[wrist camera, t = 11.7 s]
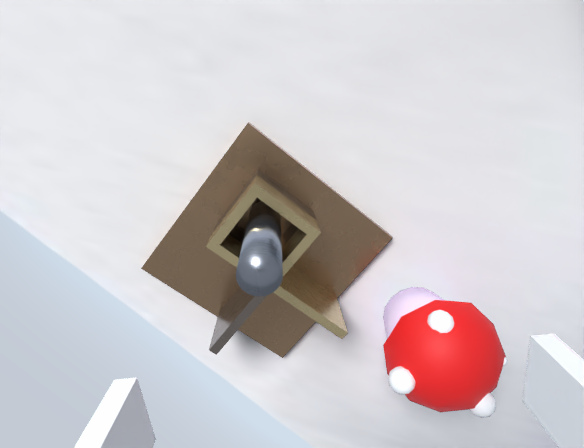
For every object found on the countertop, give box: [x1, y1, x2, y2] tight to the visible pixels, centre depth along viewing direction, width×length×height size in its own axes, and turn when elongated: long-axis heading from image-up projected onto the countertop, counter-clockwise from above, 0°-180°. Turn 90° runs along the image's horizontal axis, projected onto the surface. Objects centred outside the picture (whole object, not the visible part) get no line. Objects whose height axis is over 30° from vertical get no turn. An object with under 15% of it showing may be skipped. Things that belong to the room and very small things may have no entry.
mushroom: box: [383, 287, 507, 417], centre depth 36 cm, size 11×11×12 cm
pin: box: [236, 201, 283, 296], centre depth 30 cm, size 3×3×13 cm
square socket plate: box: [141, 123, 392, 358], centre depth 35 cm, size 18×18×8 cm
